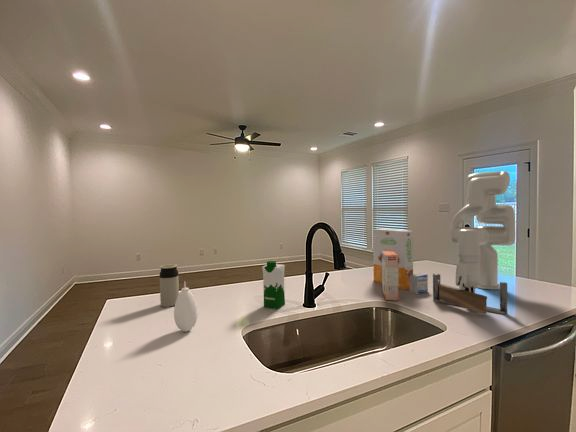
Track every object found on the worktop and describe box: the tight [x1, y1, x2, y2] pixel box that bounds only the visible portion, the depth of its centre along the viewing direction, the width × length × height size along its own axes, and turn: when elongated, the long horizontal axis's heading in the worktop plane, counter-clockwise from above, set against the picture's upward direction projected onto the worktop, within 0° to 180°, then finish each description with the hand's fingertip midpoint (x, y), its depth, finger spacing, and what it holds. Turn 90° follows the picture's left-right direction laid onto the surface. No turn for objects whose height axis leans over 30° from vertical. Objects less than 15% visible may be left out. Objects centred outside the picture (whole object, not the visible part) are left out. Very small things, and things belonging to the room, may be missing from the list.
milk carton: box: [261, 260, 286, 310], centre depth 130 cm, size 9×9×20 cm
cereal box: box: [372, 228, 414, 291], centre depth 162 cm, size 22×6×30 cm, turn 26°
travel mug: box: [159, 263, 180, 308], centre depth 135 cm, size 8×8×18 cm
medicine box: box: [409, 273, 429, 295], centre depth 147 cm, size 8×4×9 cm, turn 117°
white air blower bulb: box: [173, 281, 199, 333], centre depth 105 cm, size 8×8×18 cm
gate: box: [439, 283, 488, 315], centre depth 121 cm, size 2×20×6 cm, turn 21°
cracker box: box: [381, 251, 399, 302], centre depth 140 cm, size 14×6×21 cm, turn 168°
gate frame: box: [432, 273, 508, 315], centre depth 124 cm, size 4×27×12 cm, turn 48°
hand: (468, 302), depth 122 cm, fingers closed
